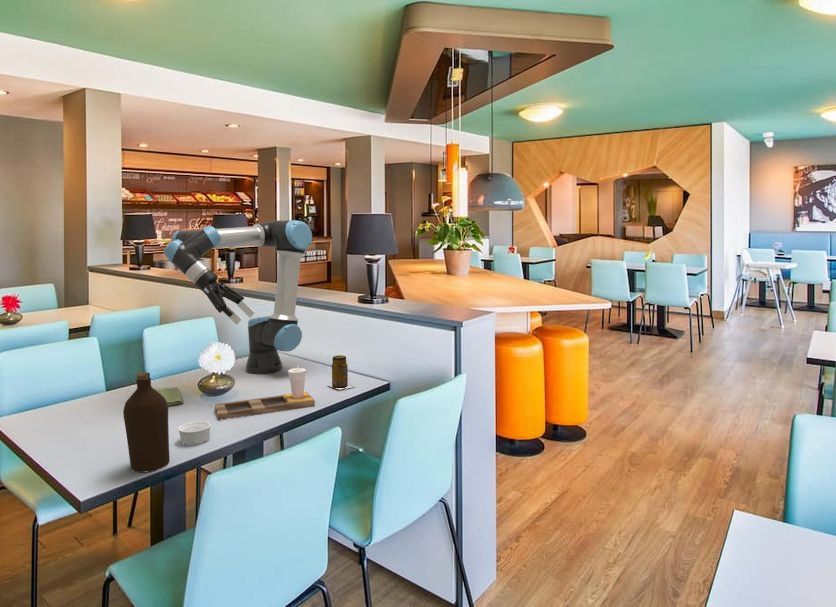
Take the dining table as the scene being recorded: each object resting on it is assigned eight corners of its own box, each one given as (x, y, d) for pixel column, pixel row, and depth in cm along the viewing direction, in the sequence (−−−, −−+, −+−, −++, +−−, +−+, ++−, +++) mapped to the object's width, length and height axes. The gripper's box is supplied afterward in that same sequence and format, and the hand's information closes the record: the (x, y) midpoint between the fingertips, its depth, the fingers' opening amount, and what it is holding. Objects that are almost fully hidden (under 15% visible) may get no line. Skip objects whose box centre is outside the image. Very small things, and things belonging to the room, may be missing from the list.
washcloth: (143, 411, 193) (142, 402, 192) (142, 397, 209) (142, 389, 208) (184, 406, 199) (184, 397, 198) (180, 392, 214) (180, 384, 214)
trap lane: (214, 410, 193) (214, 403, 193) (307, 397, 206) (306, 391, 206) (218, 420, 183) (218, 413, 183) (314, 405, 197) (314, 399, 196)
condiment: (343, 383, 224) (342, 353, 222) (354, 387, 218) (354, 357, 216) (327, 386, 220) (326, 356, 218) (338, 391, 213) (337, 360, 211)
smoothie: (298, 400, 195) (296, 361, 193) (284, 397, 198) (283, 358, 197) (311, 395, 200) (309, 357, 198) (298, 393, 204) (296, 355, 202)
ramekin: (188, 434, 172) (187, 420, 171) (216, 435, 171) (215, 421, 170) (173, 446, 163) (172, 431, 162) (203, 446, 162) (202, 432, 161)
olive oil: (141, 477, 143) (133, 381, 139) (120, 467, 149) (112, 375, 145) (180, 462, 151) (173, 372, 148) (158, 453, 157) (151, 366, 154)
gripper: (210, 280, 212) (251, 319, 214) (179, 288, 187) (226, 332, 189) (223, 266, 211) (264, 305, 213) (193, 272, 186) (240, 317, 188)
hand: (246, 318), depth 201 cm, fingers open, 13 cm apart
